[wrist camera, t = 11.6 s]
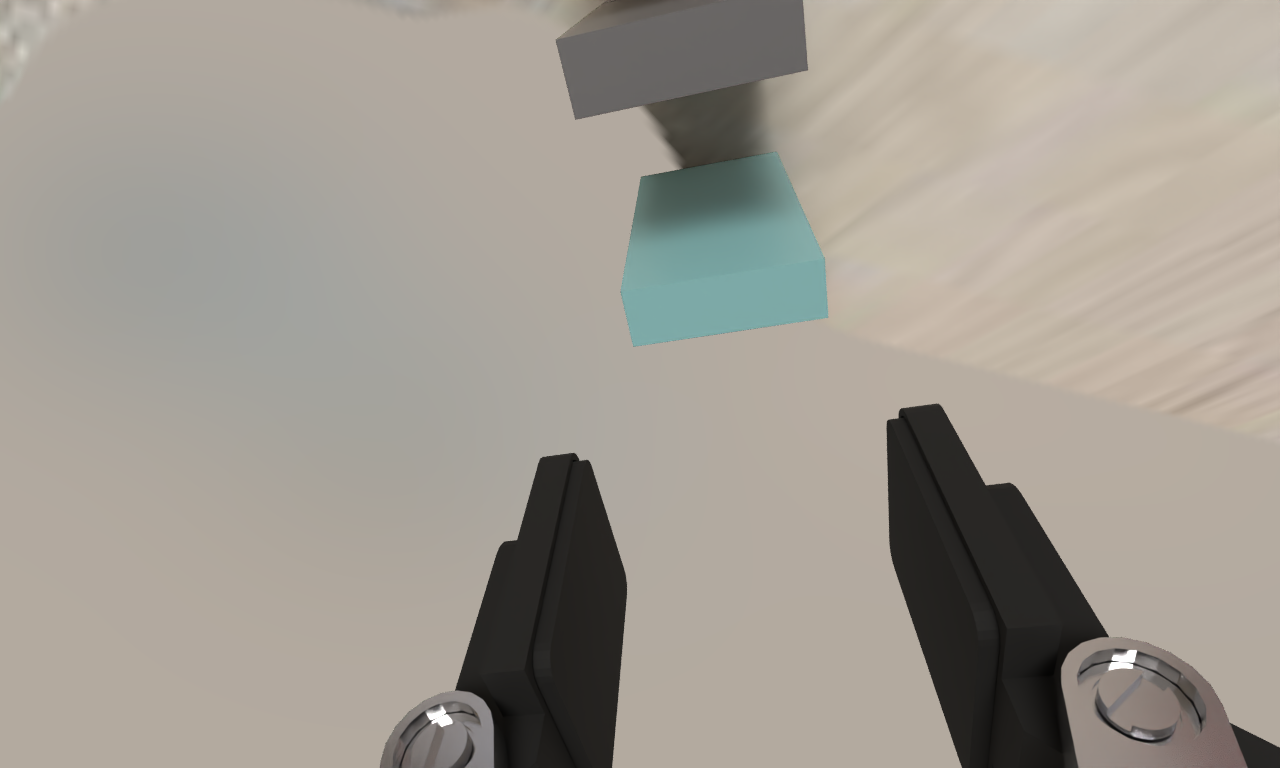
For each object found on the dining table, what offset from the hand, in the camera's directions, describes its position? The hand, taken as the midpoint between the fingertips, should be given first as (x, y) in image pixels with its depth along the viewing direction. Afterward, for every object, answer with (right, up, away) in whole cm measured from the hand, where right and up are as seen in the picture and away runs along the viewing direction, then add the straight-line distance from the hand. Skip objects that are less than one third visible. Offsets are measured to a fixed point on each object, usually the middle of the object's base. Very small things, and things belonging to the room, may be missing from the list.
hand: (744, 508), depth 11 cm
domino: (0, +14, +12) cm, 18 cm away
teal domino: (+1, +9, +15) cm, 17 cm away
